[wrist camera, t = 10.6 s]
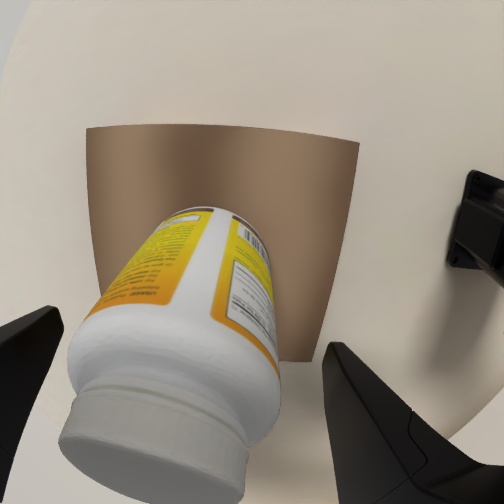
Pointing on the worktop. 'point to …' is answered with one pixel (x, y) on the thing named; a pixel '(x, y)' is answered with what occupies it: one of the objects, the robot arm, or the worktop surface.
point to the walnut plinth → (229, 204)
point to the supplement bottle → (178, 365)
